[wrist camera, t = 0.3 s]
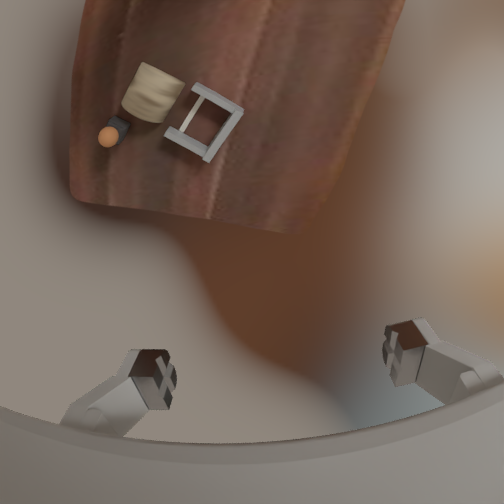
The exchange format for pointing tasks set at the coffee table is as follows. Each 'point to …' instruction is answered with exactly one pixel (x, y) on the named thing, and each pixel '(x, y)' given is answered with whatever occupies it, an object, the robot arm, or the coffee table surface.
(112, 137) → the ball
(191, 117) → the line
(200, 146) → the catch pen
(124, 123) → the cube with raised frame
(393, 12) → the coffee table surface
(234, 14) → the coffee table surface
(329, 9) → the coffee table surface
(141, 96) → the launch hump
